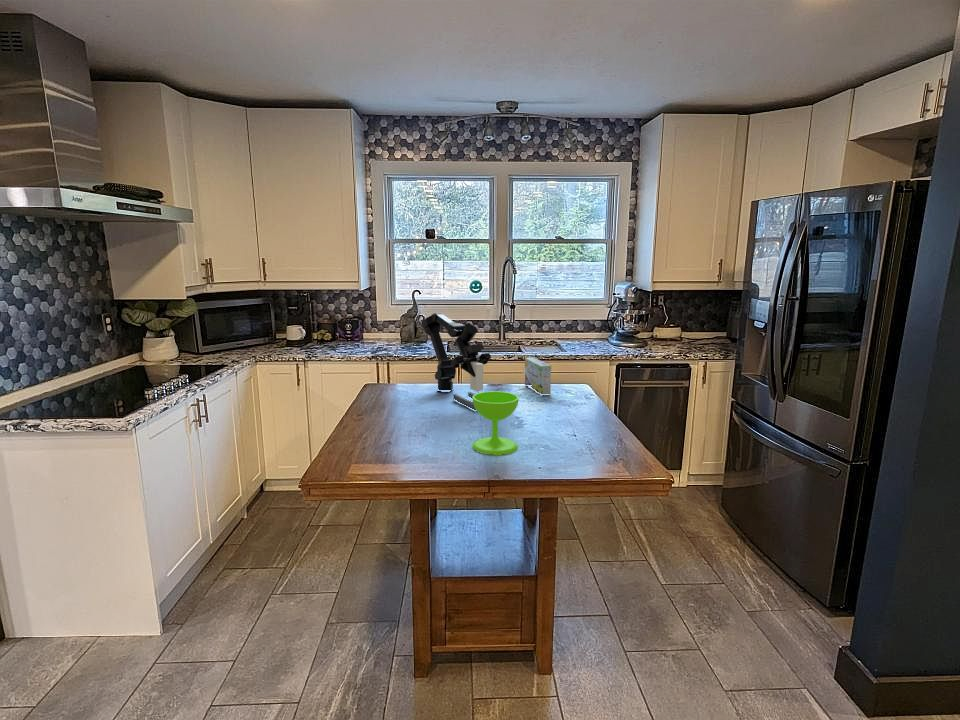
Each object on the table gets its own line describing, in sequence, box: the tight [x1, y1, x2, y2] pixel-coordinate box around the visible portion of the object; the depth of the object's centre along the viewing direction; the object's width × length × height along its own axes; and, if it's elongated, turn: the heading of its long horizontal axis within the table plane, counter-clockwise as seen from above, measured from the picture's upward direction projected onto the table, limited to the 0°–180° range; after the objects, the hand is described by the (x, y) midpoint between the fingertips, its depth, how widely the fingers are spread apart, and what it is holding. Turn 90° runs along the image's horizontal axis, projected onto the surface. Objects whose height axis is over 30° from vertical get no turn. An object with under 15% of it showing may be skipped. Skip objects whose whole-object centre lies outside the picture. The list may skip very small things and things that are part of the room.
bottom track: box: [453, 391, 476, 410], centre depth 235 cm, size 20×9×3 cm, turn 30°
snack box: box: [524, 356, 552, 395], centre depth 259 cm, size 21×6×15 cm, turn 17°
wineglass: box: [471, 390, 520, 456], centre depth 181 cm, size 16×16×18 cm
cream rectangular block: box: [469, 362, 484, 392], centre depth 233 cm, size 5×4×12 cm
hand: (478, 375), depth 232 cm, fingers closed on cream rectangular block, 3 cm apart
